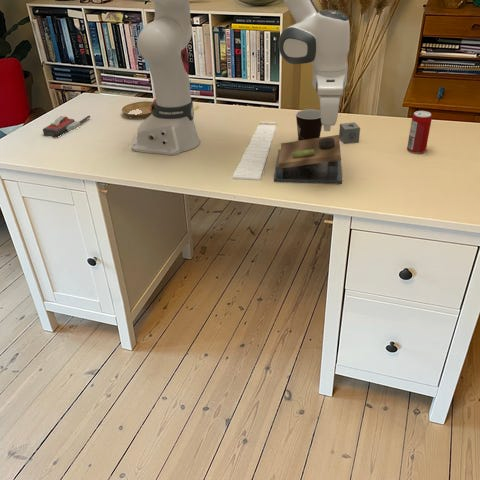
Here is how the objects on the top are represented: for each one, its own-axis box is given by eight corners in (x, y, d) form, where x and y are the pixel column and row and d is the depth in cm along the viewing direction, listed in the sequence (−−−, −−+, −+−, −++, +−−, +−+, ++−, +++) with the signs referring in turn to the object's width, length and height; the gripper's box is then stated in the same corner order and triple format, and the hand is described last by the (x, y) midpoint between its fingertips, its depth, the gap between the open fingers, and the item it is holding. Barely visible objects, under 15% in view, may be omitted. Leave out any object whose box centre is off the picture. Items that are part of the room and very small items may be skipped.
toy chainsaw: (62, 140, 171) (93, 120, 187) (58, 128, 169) (90, 108, 185) (40, 138, 174) (73, 118, 189) (37, 126, 171) (70, 107, 187)
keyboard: (257, 123, 178) (257, 119, 177) (279, 124, 177) (279, 119, 176) (232, 180, 142) (232, 175, 141) (260, 182, 140) (260, 177, 140)
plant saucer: (123, 123, 183) (122, 116, 181) (121, 110, 194) (120, 103, 193) (163, 118, 185) (162, 111, 184) (159, 105, 197) (158, 99, 196)
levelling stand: (273, 182, 139) (273, 169, 137) (277, 159, 151) (277, 147, 149) (342, 183, 137) (343, 170, 134) (340, 160, 149) (341, 148, 147)
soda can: (429, 150, 152) (436, 113, 146) (418, 155, 150) (425, 117, 143) (414, 145, 156) (420, 108, 149) (403, 150, 153) (409, 112, 147)
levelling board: (279, 168, 137) (277, 158, 135) (282, 147, 148) (280, 138, 147) (341, 160, 133) (340, 149, 132) (339, 139, 145) (338, 129, 143)
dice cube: (358, 142, 160) (360, 127, 157) (343, 144, 159) (345, 129, 156) (353, 136, 164) (354, 122, 161) (338, 138, 163) (339, 123, 160)
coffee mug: (321, 150, 156) (322, 119, 150) (293, 148, 157) (294, 118, 152) (323, 135, 165) (325, 106, 159) (297, 134, 167) (298, 105, 161)
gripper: (317, 67, 137) (315, 115, 145) (317, 90, 121) (315, 143, 128) (340, 67, 136) (337, 115, 144) (343, 90, 120) (339, 144, 128)
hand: (326, 129), depth 136 cm, fingers closed
